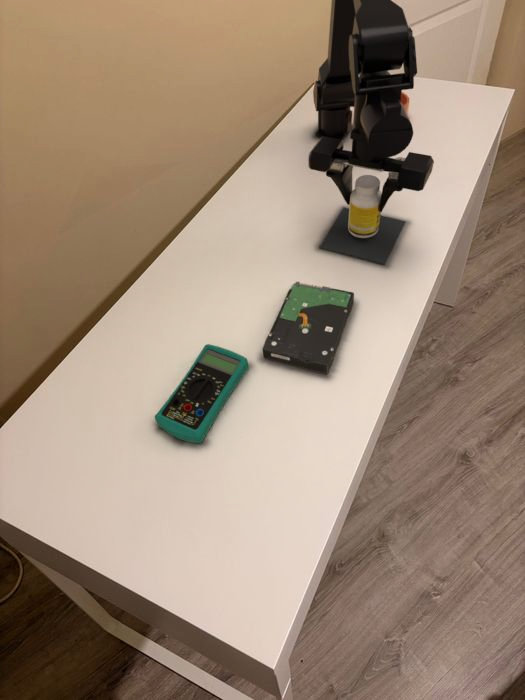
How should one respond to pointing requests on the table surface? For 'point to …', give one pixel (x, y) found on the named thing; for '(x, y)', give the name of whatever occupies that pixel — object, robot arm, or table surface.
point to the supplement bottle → (365, 207)
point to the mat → (363, 239)
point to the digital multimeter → (202, 393)
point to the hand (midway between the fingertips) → (365, 207)
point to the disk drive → (309, 327)
